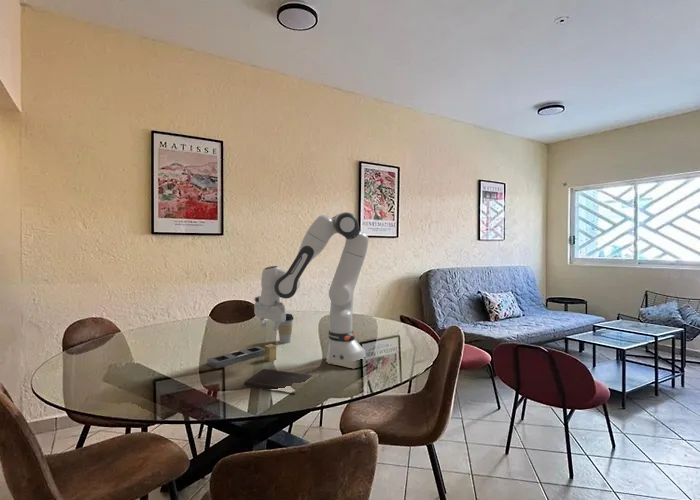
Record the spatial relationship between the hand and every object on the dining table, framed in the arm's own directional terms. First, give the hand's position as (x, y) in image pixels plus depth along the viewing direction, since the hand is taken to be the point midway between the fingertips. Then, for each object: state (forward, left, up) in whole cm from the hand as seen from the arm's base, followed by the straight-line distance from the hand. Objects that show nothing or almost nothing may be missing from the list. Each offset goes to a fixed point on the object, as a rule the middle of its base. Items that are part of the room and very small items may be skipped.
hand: (269, 328), depth 193 cm
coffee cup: (+18, -24, -16) cm, 34 cm away
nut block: (0, 0, -16) cm, 16 cm away
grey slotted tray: (+12, +10, -15) cm, 22 cm away
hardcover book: (-25, +15, -16) cm, 33 cm away
